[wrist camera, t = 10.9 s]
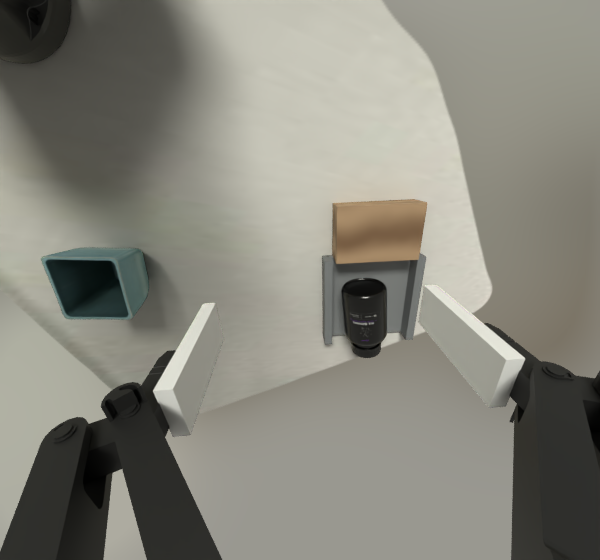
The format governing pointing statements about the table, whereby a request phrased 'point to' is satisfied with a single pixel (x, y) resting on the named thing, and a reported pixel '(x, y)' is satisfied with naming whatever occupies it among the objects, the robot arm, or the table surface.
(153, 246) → the table surface
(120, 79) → the table surface
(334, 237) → the walnut ledge
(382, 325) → the supplement bottle
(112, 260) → the flower pot
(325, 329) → the grey tray
